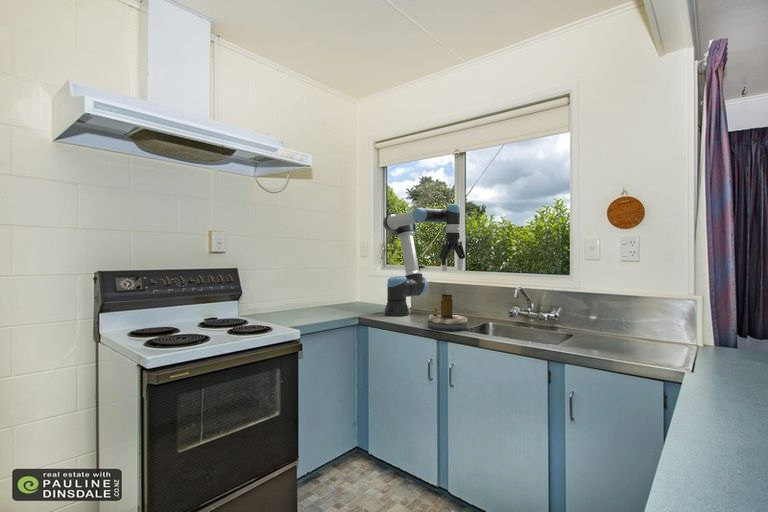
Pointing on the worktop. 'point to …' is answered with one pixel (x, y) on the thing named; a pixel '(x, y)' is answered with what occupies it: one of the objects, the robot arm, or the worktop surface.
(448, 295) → the condiment
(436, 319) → the turntable
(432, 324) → the turntable base
